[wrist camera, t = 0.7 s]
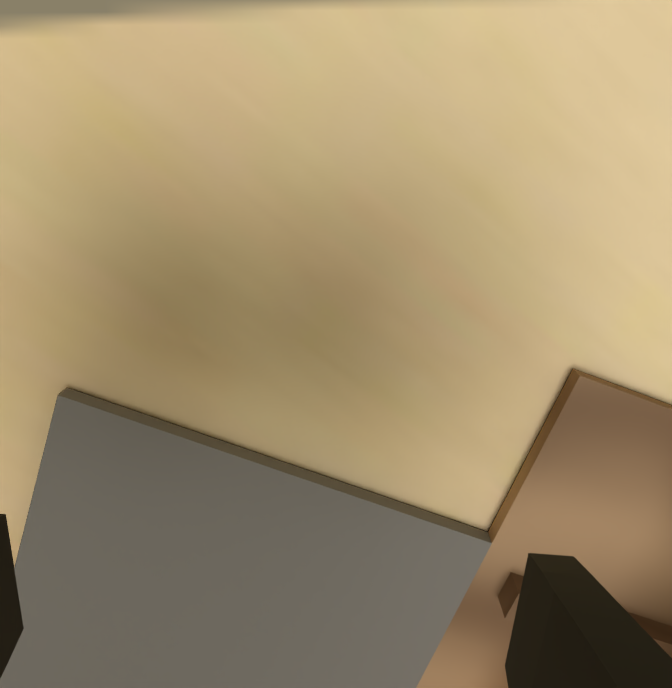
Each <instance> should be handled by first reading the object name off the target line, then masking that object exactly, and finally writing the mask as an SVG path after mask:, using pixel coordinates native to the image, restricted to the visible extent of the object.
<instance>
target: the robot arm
mask: <svg viewBox="0 0 672 688" xmlns="http://www.w3.org/2000/svg"><path fill="white" fill-rule="evenodd" d="M23 629H24V627H23V621H22V614H21V608H20V602H19V595H18V589H17V583H16V576H15V570H14V564H13V558H12V551H11V545H10V539H9V532H8V526H7V520H6V514H0V678H1V676H2V674H3V672H4V670H5V668H6V666H7V664H8V662H9V660H10V657H11V655H12V653H13V651H14V649H15V647H16V644H17V642H18V640H19V638H20V636H21V634H22V631H23ZM505 670H506V676H507V683H508V688H672V658H671V657H670V656H669V655H668V654H667V653H666V652H665V651H664V650H663V649H662V648H661V647H660V645H659V644H658V643H657V642H656V641H655V640H654V639H653V638H652V637H651V636H650V635H649V634H648V633H647V632H646V631H645V630H644V629H643V628H642V627H641V626H640V625H639V624H638V623H637V622H636V621H635V620H634V618H633V617H632V616H631V615H630V614H629V613H628V612H627V611H626V610H625V609H624V608H623V607H622V606H621V605H620V604H619V603H618V602H617V601H616V600H615V599H614V597H613V596H612V595H611V594H610V593H609V592H608V591H607V590H606V589H605V588H604V587H603V586H602V585H601V584H600V583H599V582H598V581H597V580H596V579H595V577H594V576H593V575H592V574H591V573H590V572H589V571H588V570H587V569H586V568H585V567H584V566H583V565H582V564H581V563H580V562H579V561H578V560H577V559H576V558H575V557H574V556H565V555H551V554H538V553H528V558H527V562H526V567H525V572H524V577H523V581H522V586H521V591H520V595H519V600H518V605H517V610H516V614H515V619H514V624H513V629H512V633H511V638H510V643H509V648H508V652H507V657H506V662H505Z"/></svg>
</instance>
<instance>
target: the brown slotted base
mask: <svg viewBox="0 0 672 688" xmlns="http://www.w3.org/2000/svg"><path fill="white" fill-rule="evenodd" d="M488 534H489V536H490V539H491V542H492V544H491V546H490V548H489V550H488V552H487V554H486V556H485V558H484V560H483V561H482V563H481V565H480V567H479V569H478V571H477V573H476V575H475V577H474V579H473V580H472V582H471V584H470V586H469V588H468V590H467V592H466V594H465V596H464V598H463V600H462V601H461V603H460V605H459V607H458V609H457V611H456V613H455V615H454V617H453V619H452V620H451V622H450V624H449V626H448V628H447V630H446V632H445V634H444V636H443V638H442V640H441V641H440V643H439V645H438V647H437V649H436V651H435V653H434V655H433V657H432V659H431V660H430V662H429V664H428V666H427V668H426V670H425V672H424V674H423V676H422V678H421V680H420V681H419V683H418V685H417V687H416V688H508V683H507V676H506V670H505V662H506V657H507V652H508V648H509V643H510V638H511V633H512V629H513V624H514V619H515V614H516V610H517V605H518V600H519V595H520V591H521V586H522V581H523V577H524V572H525V567H526V562H527V558H528V553H538V554H551V555H565V556H574V557H575V558H576V559H577V560H578V561H579V562H580V563H581V564H582V565H583V566H584V567H585V568H586V569H587V570H588V571H589V572H590V573H591V574H592V575H593V576H594V577H595V579H596V580H597V581H598V582H599V583H600V584H601V585H602V586H603V587H604V588H605V589H606V590H607V591H608V592H609V593H610V594H611V595H612V596H613V597H614V599H615V600H616V601H617V602H618V603H619V604H620V605H621V606H622V607H623V608H624V609H625V610H626V611H627V612H628V613H629V614H630V615H631V616H632V617H633V618H634V620H635V621H636V622H637V623H638V624H639V625H640V626H641V627H642V628H643V629H644V630H645V631H646V632H647V633H648V634H649V635H650V636H651V637H652V638H653V639H654V640H655V641H656V642H657V643H658V644H659V645H660V647H661V648H662V649H663V650H664V651H665V652H666V653H667V654H668V655H669V656H670V657H671V658H672V405H670V404H667V403H665V402H662V401H659V400H656V399H654V398H651V397H648V396H646V395H643V394H640V393H638V392H635V391H632V390H629V389H627V388H624V387H621V386H619V385H616V384H613V383H611V382H608V381H605V380H602V379H600V378H597V377H594V376H592V375H589V374H586V373H584V372H581V371H578V370H575V369H572V371H571V373H570V375H569V377H568V379H567V381H566V383H565V385H564V387H563V389H562V391H561V393H560V394H559V396H558V398H557V400H556V402H555V404H554V406H553V408H552V410H551V412H550V414H549V416H548V418H547V420H546V421H545V423H544V425H543V427H542V429H541V431H540V433H539V435H538V437H537V439H536V441H535V443H534V445H533V446H532V448H531V450H530V452H529V454H528V456H527V458H526V460H525V462H524V464H523V466H522V468H521V470H520V471H519V473H518V475H517V477H516V479H515V481H514V483H513V485H512V487H511V489H510V491H509V493H508V495H507V497H506V498H505V500H504V502H503V504H502V506H501V508H500V510H499V512H498V514H497V516H496V518H495V520H494V522H493V523H492V525H491V527H490V529H489V531H488Z"/></svg>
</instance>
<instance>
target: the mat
mask: <svg viewBox="0 0 672 688" xmlns="http://www.w3.org/2000/svg"><path fill="white" fill-rule="evenodd" d="M491 544H492V542H491V539H490V536H489V534H488V532H486V531H483V530H480V529H477V528H474V527H471V526H469V525H466V524H463V523H460V522H457V521H454V520H451V519H448V518H445V517H442V516H439V515H436V514H434V513H431V512H428V511H425V510H422V509H419V508H416V507H413V506H410V505H407V504H404V503H402V502H399V501H396V500H393V499H390V498H387V497H384V496H381V495H378V494H375V493H372V492H369V491H367V490H364V489H361V488H358V487H355V486H352V485H349V484H346V483H343V482H340V481H337V480H334V479H332V478H329V477H326V476H323V475H320V474H317V473H314V472H311V471H308V470H305V469H302V468H300V467H297V466H294V465H291V464H288V463H285V462H282V461H279V460H276V459H273V458H270V457H267V456H265V455H262V454H259V453H256V452H253V451H250V450H247V449H244V448H241V447H238V446H235V445H233V444H230V443H227V442H224V441H221V440H218V439H215V438H212V437H209V436H206V435H203V434H200V433H198V432H195V431H192V430H189V429H186V428H183V427H180V426H177V425H174V424H171V423H168V422H165V421H163V420H160V419H157V418H154V417H151V416H148V415H145V414H142V413H139V412H136V411H133V410H131V409H128V408H125V407H122V406H119V405H116V404H113V403H110V402H107V401H104V400H101V399H98V398H96V397H93V396H90V395H87V394H84V393H81V392H78V391H75V390H72V389H69V388H66V389H65V390H63V391H62V392H61V393H60V394H59V395H58V397H57V400H56V404H55V408H54V412H53V416H52V420H51V424H50V428H49V432H48V436H47V440H46V444H45V448H44V452H43V456H42V460H41V464H40V468H39V472H38V476H37V480H36V484H35V488H34V492H33V496H32V500H31V504H30V508H29V512H28V516H27V520H26V524H25V528H24V532H23V536H22V540H21V544H20V548H19V552H18V556H17V560H16V564H15V568H14V570H15V576H16V583H17V589H18V595H19V602H20V608H21V614H22V621H23V627H24V629H23V631H22V634H21V636H20V638H19V640H18V642H17V644H16V647H15V649H14V651H13V653H12V655H11V657H10V660H9V662H8V664H7V666H6V668H5V670H4V672H3V674H2V676H1V678H0V688H416V687H417V685H418V683H419V681H420V680H421V678H422V676H423V674H424V672H425V670H426V668H427V666H428V664H429V662H430V660H431V659H432V657H433V655H434V653H435V651H436V649H437V647H438V645H439V643H440V641H441V640H442V638H443V636H444V634H445V632H446V630H447V628H448V626H449V624H450V622H451V620H452V619H453V617H454V615H455V613H456V611H457V609H458V607H459V605H460V603H461V601H462V600H463V598H464V596H465V594H466V592H467V590H468V588H469V586H470V584H471V582H472V580H473V579H474V577H475V575H476V573H477V571H478V569H479V567H480V565H481V563H482V561H483V560H484V558H485V556H486V554H487V552H488V550H489V548H490V546H491Z"/></svg>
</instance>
